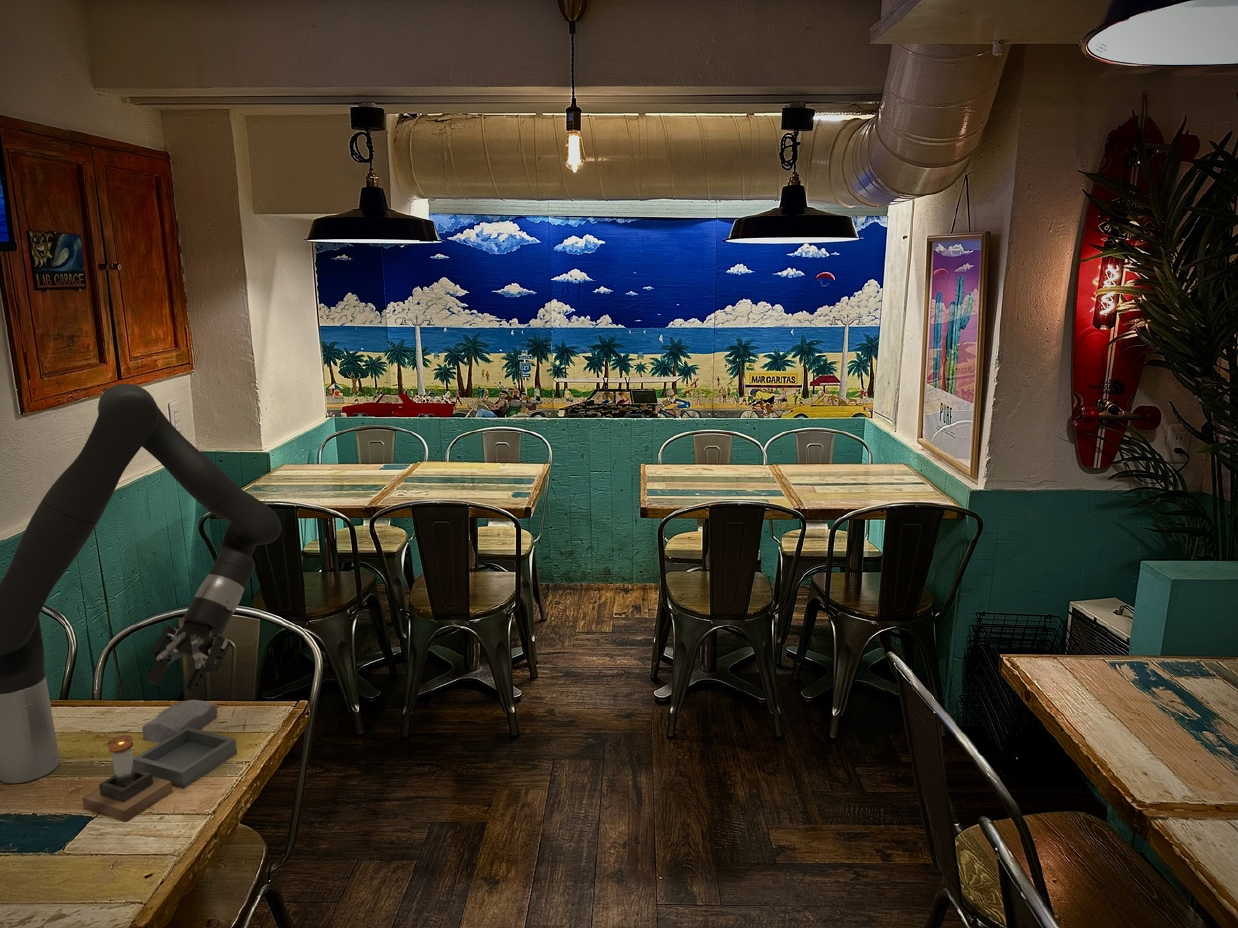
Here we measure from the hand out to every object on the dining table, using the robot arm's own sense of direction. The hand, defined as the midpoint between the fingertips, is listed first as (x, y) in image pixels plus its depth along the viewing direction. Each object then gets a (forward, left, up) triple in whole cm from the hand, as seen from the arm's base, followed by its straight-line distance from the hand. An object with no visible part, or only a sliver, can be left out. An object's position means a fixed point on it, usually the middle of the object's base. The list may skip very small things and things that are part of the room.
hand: (170, 687), depth 155 cm
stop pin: (0, -11, -14) cm, 18 cm away
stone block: (-12, +10, -16) cm, 23 cm away
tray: (0, +1, -16) cm, 16 cm away
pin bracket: (0, -11, -16) cm, 19 cm away
